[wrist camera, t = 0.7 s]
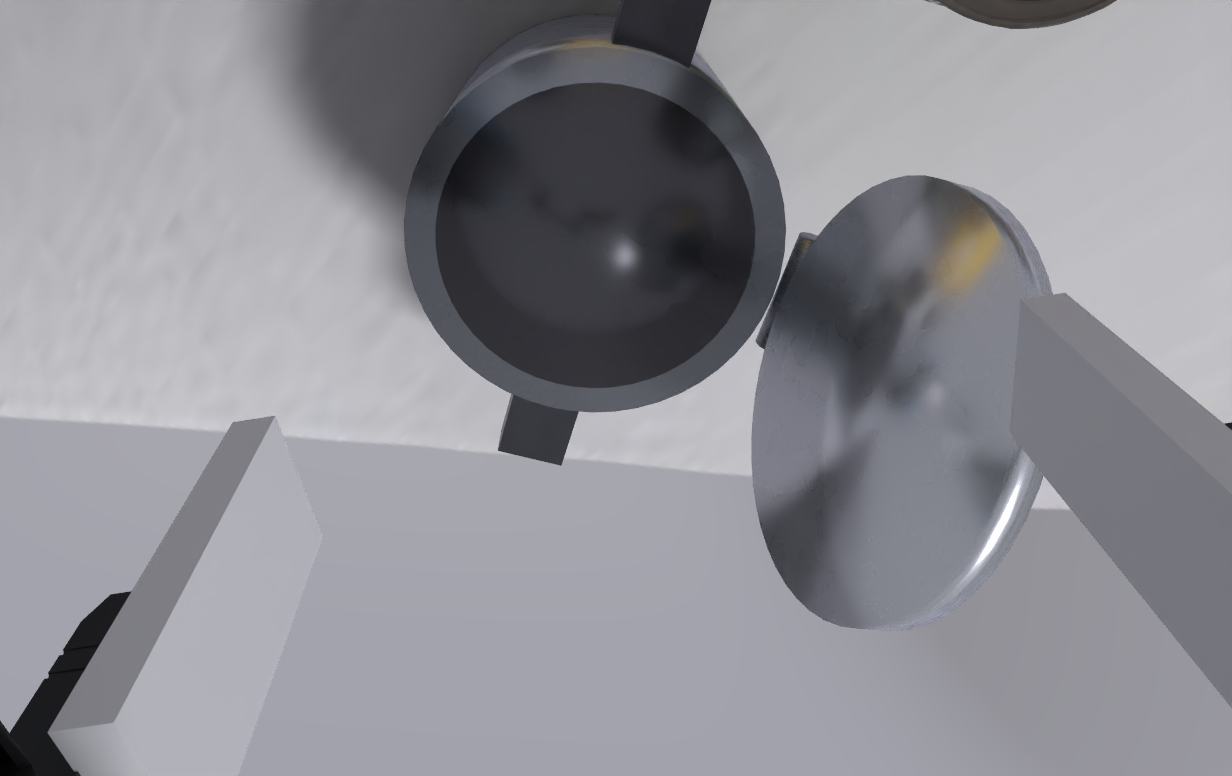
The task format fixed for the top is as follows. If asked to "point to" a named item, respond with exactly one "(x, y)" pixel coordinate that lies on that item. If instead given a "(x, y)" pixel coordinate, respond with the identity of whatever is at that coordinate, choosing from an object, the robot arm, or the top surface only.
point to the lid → (896, 406)
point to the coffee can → (1024, 11)
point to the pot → (596, 221)
